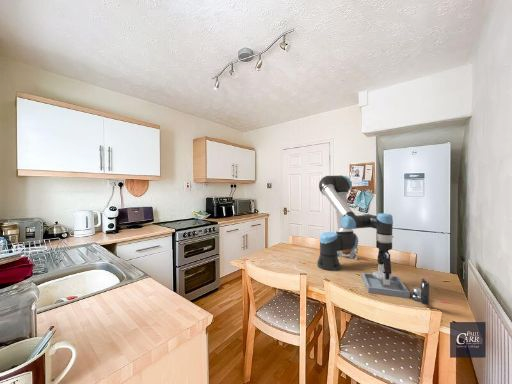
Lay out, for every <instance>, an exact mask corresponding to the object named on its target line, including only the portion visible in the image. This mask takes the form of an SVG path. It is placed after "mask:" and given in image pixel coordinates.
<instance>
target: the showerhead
mask: <svg viewBox="0 0 512 384" xmlns="http://www.w3.org/2000/svg"><path fill="white" fill-rule="evenodd" d="M372 274H373V276H374V277H376V278H378V282H380V283H381V286H385V285H384V273H383V271H378V270H376V271H373V273H372ZM392 276H393V274H392V273H391V274H390V279H392Z"/></svg>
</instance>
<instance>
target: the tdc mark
mask: <svg viewBox="0 0 512 384" xmlns="http://www.w3.org/2000/svg"><path fill="white" fill-rule="evenodd" d="M440 302H441V303H444V304H450V302H449V300H448V301H447V300H440Z"/></svg>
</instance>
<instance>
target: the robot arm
mask: <svg viewBox="0 0 512 384" xmlns="http://www.w3.org/2000/svg"><path fill="white" fill-rule="evenodd" d="M351 188H352V181H351V179H350V178H349V177H348V176H347V175H325V176H323V177H322V178H321V179H320V180H319V182H318V189H319V191H320V193H321V195H322V196H325V197H326V199H327V200H328V201H329V203H330V205H332V207H333V208H334V210H335V215H336V223H337V225H336V226H337V230H336V231H335V232H334V231H326V232H323V233H321V234H320V236H319V257H318V259H317V261H316V262H317V264H316V265H317V267H318V268H319V269H322V270H325V271H329V272H330V271H333V272H335V271H338V270H340V269H341V264H340V260H339V256H338V257H337V255H338V251H344V250H352V249H355V248H356V247H357V248H358V245H359V238H358V235H357V234H356V233H355V232H354V230H356V229H368V228H370V229H371V228H372V229H375V230H376V248H377V249H378V252H377V253H378V254H377V263H378V264H377V265H378V266H377V267H378V268H377V269H378V270H377V271H383V273H384V285H390V274H391V275H392V266H391V265H392V263H391V254H390V253H389V251H391V250H393V238H394V236H393V227H394V225H393V224H394V220H393V219H394V218H393V215H392V214H391V213H381V212H380V213H377V214H376V215H373V214H370V213H363V214H362V215H361V214H360V215H358V214H357V215H356V213H354V212H353V210H352V209H351V208H350V206H349V205H348V196H347V195H348V194H349V191H350V190H351Z"/></svg>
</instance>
